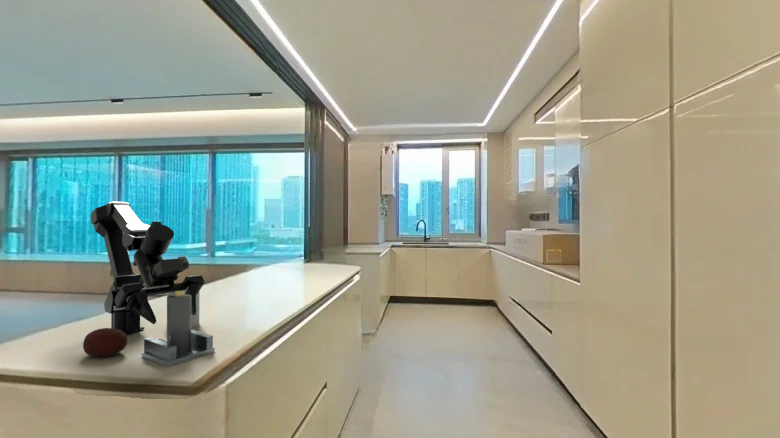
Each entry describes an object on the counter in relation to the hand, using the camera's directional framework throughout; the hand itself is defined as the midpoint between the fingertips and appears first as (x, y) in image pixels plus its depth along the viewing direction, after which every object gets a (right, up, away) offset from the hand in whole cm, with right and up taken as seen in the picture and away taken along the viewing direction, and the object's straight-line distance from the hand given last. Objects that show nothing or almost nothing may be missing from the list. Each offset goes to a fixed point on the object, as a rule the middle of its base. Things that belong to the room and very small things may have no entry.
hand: (175, 318), depth 88 cm
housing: (+1, -8, -1) cm, 8 cm away
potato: (-16, -8, -1) cm, 18 cm away
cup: (-11, -8, +23) cm, 26 cm away
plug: (-2, -7, +1) cm, 7 cm away
